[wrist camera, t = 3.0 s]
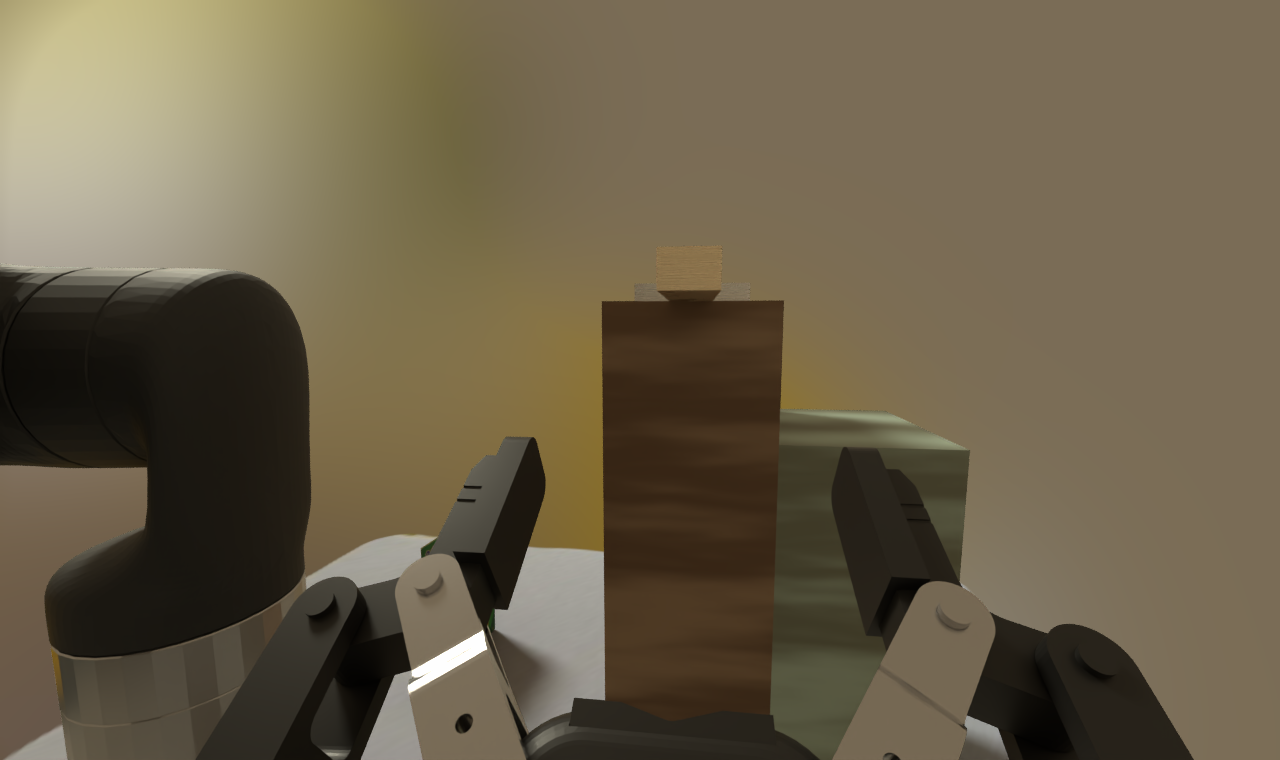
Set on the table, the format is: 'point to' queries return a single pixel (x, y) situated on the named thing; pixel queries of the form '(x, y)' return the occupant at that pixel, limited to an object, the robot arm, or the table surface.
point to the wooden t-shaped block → (691, 277)
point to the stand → (739, 522)
